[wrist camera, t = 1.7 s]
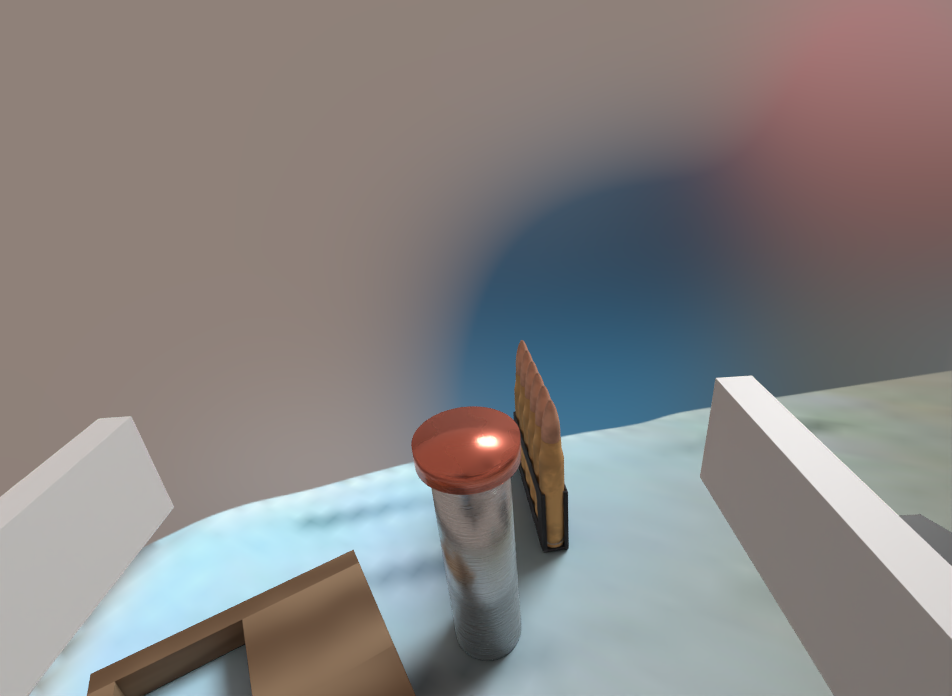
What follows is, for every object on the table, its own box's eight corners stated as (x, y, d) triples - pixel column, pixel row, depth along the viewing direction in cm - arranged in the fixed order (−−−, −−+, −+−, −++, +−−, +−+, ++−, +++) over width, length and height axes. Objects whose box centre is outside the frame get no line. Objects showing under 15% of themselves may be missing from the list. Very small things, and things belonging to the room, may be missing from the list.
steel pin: (549, 639, 28) (542, 443, 22) (472, 690, 26) (440, 490, 20) (501, 575, 32) (484, 395, 26) (431, 615, 30) (395, 430, 24)
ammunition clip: (569, 549, 34) (569, 406, 28) (543, 553, 34) (538, 410, 28) (535, 454, 43) (531, 333, 38) (515, 457, 43) (508, 336, 38)
